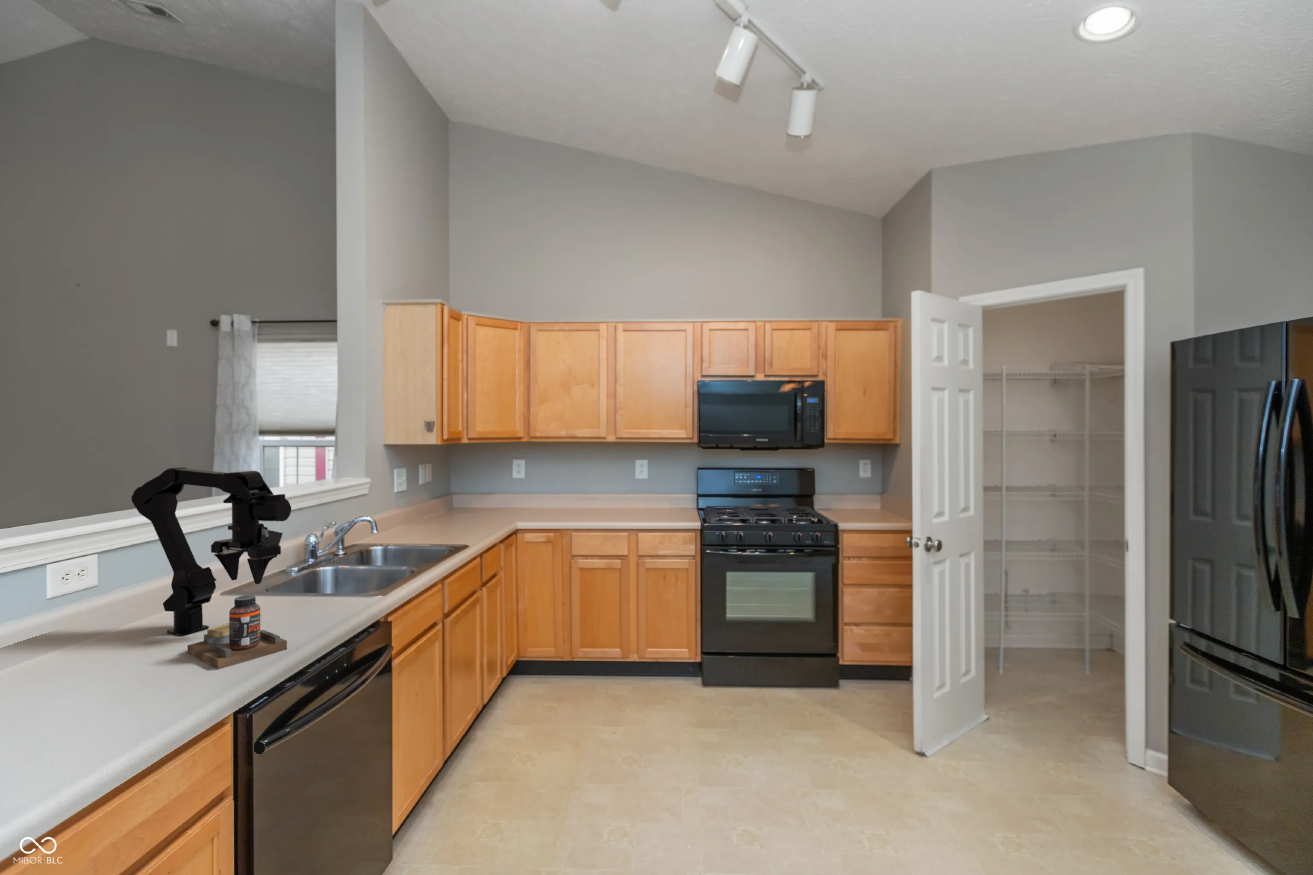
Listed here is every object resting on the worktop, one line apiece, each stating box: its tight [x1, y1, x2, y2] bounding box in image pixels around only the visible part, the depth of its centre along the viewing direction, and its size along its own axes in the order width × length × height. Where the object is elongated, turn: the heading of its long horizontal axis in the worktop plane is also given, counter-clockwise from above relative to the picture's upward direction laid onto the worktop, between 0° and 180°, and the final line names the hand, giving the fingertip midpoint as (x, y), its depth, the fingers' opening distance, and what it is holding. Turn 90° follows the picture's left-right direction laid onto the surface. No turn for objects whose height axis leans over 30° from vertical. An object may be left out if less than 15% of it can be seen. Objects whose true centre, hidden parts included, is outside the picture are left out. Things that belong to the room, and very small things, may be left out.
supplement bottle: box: [228, 594, 261, 650], centre depth 136 cm, size 6×6×11 cm
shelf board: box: [186, 622, 288, 670], centre depth 139 cm, size 16×14×5 cm
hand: (246, 581), depth 151 cm, fingers open, 9 cm apart
